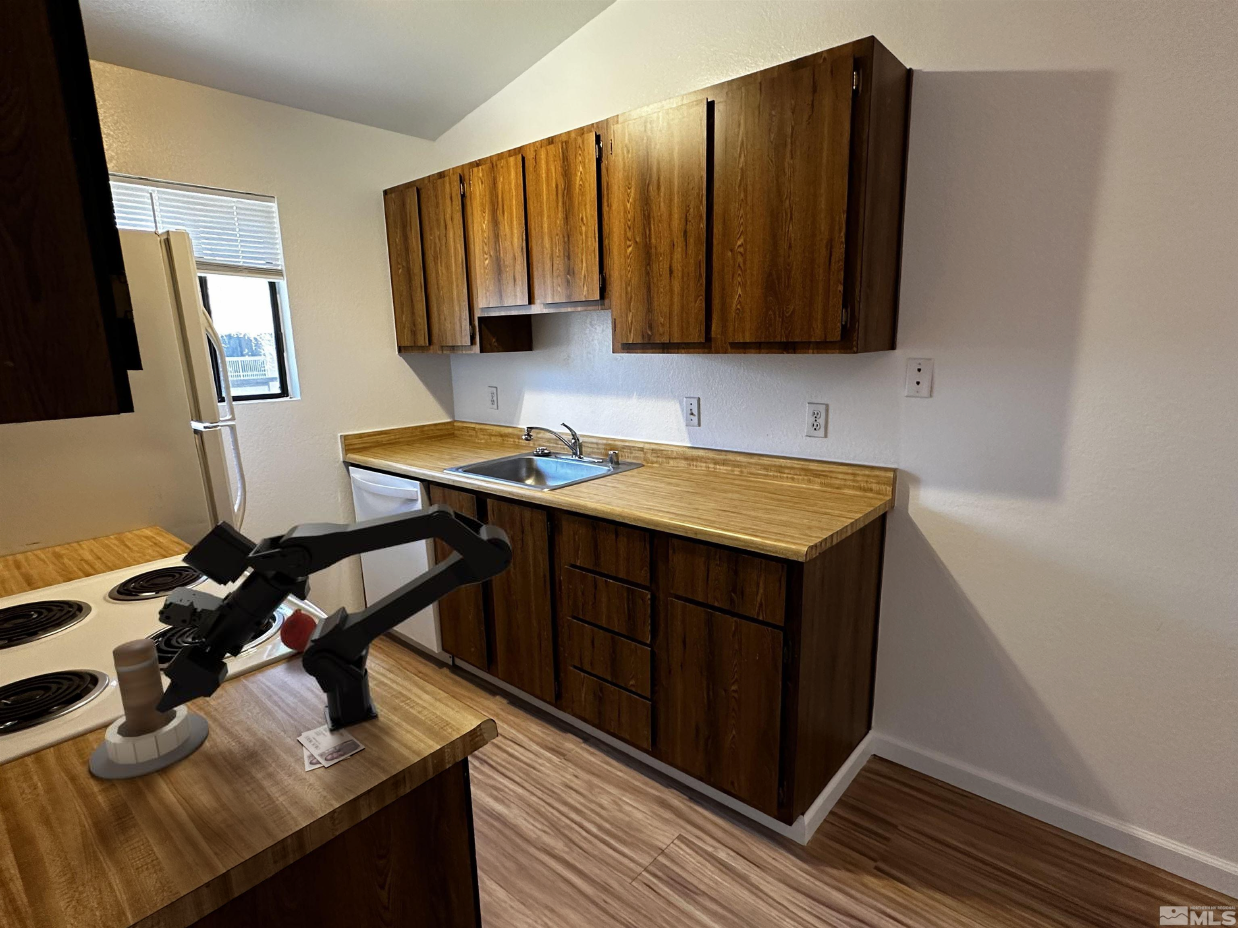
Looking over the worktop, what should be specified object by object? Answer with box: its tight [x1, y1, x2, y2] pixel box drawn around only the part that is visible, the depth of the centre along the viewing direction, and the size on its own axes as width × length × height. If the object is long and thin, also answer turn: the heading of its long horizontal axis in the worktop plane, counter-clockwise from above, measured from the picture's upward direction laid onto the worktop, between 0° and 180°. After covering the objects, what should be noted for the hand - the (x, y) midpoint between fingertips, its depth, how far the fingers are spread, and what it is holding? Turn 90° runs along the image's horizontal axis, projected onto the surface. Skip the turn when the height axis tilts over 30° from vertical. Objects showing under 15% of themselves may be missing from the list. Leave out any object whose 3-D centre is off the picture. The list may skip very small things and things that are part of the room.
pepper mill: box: [111, 638, 169, 737], centre depth 83 cm, size 4×4×14 cm
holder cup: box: [88, 704, 210, 780], centre depth 85 cm, size 13×13×4 cm
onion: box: [279, 607, 318, 653], centre depth 109 cm, size 6×6×8 cm
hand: (173, 690), depth 84 cm, fingers open, 9 cm apart
